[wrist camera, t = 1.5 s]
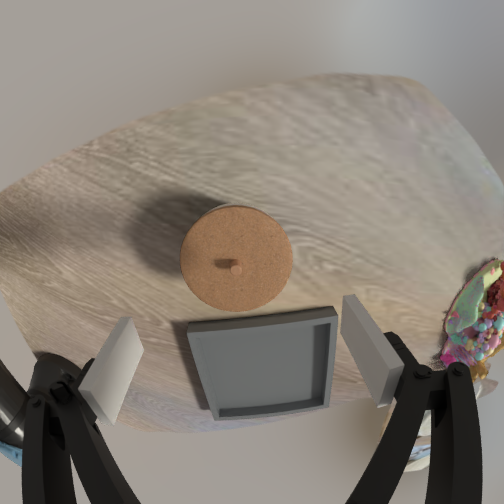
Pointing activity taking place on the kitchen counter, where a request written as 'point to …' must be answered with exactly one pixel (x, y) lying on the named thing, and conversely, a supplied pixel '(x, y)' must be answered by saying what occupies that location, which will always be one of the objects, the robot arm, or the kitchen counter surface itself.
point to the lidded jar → (236, 257)
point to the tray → (266, 362)
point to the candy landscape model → (477, 320)
